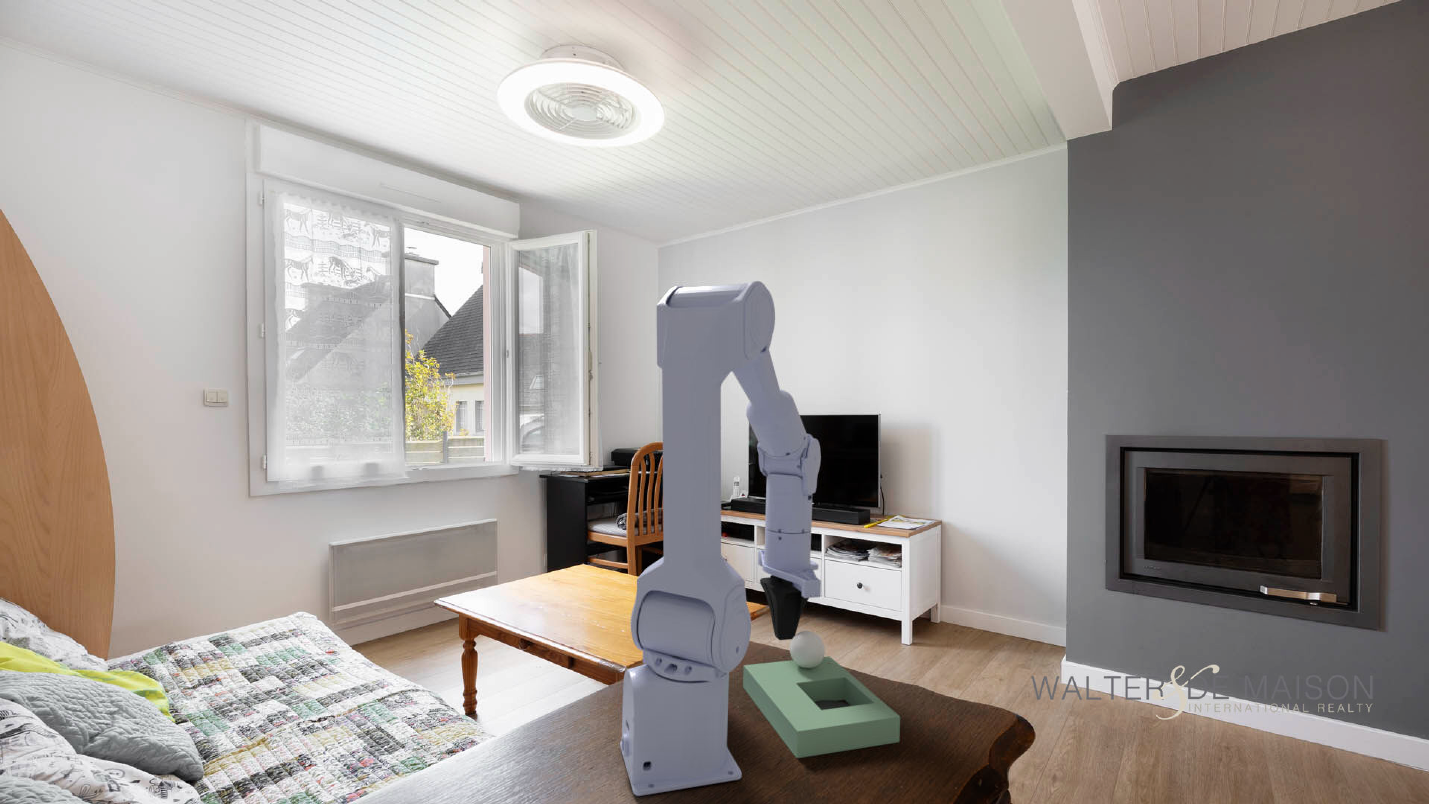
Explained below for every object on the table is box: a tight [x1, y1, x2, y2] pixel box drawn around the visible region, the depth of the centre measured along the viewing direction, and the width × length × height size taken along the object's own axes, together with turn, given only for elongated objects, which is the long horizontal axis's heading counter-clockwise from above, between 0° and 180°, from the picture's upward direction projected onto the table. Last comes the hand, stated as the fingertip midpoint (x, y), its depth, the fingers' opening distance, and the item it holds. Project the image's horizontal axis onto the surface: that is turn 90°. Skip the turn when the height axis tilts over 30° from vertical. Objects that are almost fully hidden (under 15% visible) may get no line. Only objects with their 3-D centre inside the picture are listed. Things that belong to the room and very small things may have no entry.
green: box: [742, 655, 901, 759], centre depth 66 cm, size 11×14×2 cm
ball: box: [789, 630, 826, 668], centre depth 71 cm, size 4×4×4 cm
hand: (784, 637), depth 77 cm, fingers closed
